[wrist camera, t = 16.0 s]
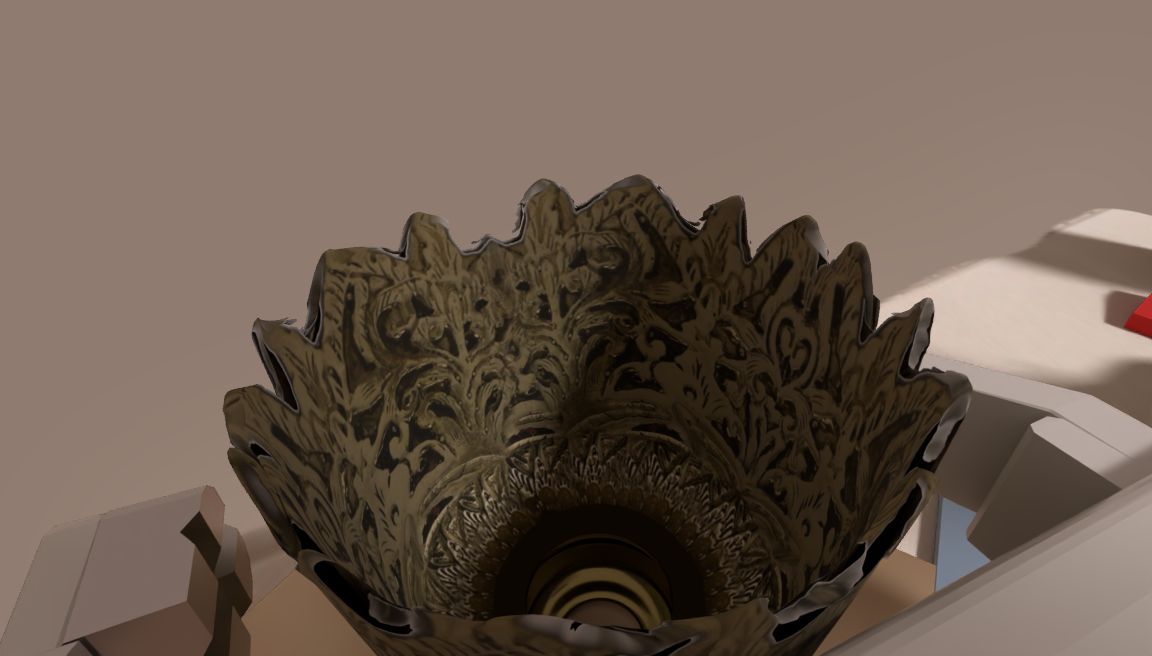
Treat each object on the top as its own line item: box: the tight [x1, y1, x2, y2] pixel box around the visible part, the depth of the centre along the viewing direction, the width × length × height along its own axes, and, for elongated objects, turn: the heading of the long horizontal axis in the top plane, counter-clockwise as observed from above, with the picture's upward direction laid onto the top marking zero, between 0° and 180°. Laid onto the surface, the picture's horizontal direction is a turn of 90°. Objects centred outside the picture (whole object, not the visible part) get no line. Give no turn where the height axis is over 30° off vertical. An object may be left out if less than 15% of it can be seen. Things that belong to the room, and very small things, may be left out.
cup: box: [223, 174, 973, 656], centre depth 9 cm, size 8×7×8 cm
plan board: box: [933, 496, 991, 592], centre depth 21 cm, size 12×9×1 cm
